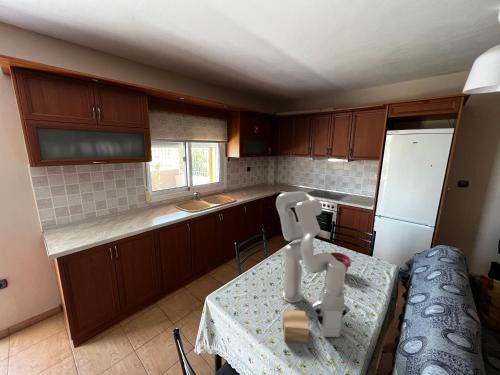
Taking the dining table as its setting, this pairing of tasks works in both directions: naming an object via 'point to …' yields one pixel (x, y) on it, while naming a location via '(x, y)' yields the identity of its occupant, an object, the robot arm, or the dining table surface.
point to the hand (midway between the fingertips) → (329, 321)
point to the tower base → (294, 338)
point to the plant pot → (342, 259)
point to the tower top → (295, 323)
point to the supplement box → (330, 323)
